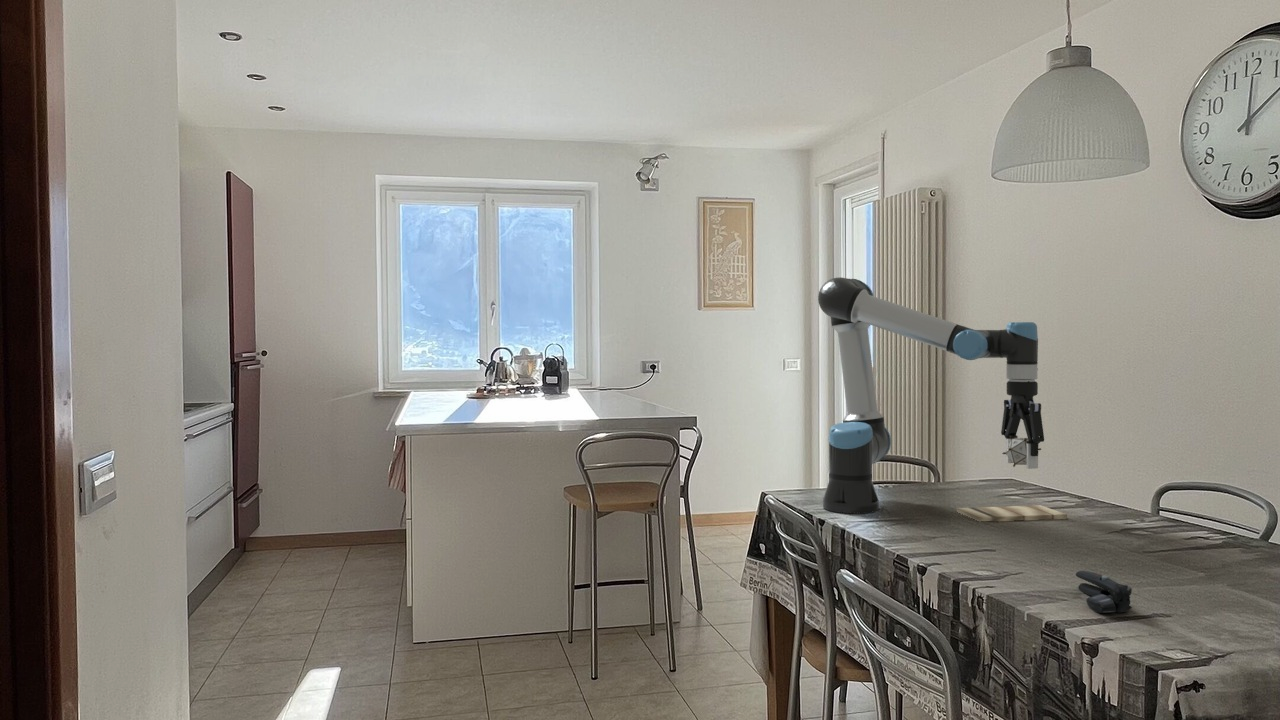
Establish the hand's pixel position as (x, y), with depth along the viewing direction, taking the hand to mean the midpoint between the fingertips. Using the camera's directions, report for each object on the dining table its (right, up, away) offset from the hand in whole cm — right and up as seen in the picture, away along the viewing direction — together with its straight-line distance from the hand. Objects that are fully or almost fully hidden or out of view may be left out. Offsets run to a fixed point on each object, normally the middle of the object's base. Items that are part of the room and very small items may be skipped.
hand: (1021, 465), depth 229 cm
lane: (-3, -13, 0) cm, 14 cm away
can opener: (-18, -16, -73) cm, 77 cm away
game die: (0, 0, 0) cm, 0 cm away
